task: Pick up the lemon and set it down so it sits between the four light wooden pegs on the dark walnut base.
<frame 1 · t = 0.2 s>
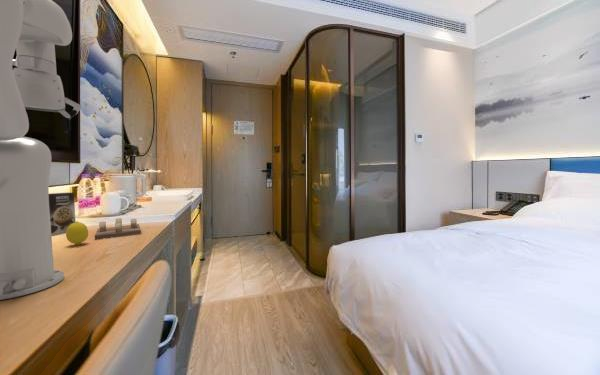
hand: (42, 130, 71), 36 cm above the table, tool pointing down, fingers open, 9 cm apart
peg cradle: (119, 233, 100), on the table
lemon: (78, 245, 84), on the table
coffee box: (58, 233, 102), on the table
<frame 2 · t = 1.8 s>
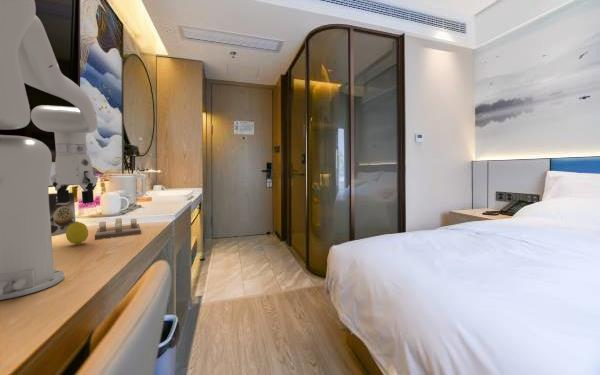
hand: (75, 202, 84), 14 cm above the table, tool pointing down, fingers open, 9 cm apart
nothing on the table moved.
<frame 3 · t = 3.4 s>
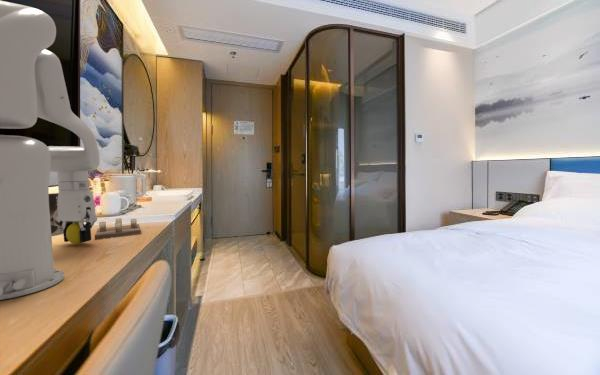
hand: (77, 240, 84), 2 cm above the table, tool pointing down, fingers closed on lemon, 5 cm apart
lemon: (78, 245, 84), on the table, touching gripper
everything else where it was.
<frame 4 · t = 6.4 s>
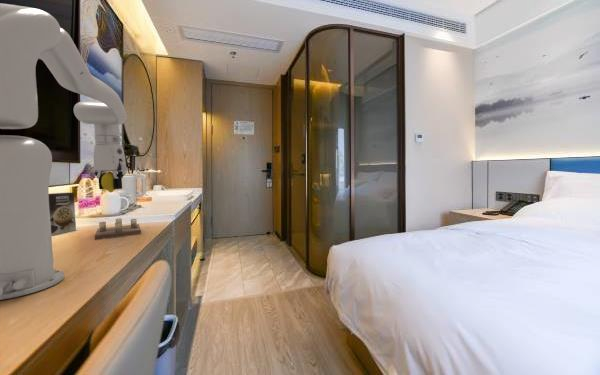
hand: (110, 188, 96), 18 cm above the table, tool pointing down, fingers closed on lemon, 5 cm apart
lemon: (111, 192, 97), point 16 cm above the table, touching gripper
everything else where it was.
when the fingers open (4 cm above the table, at t = 9.2 s): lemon stays where it is, resting on peg cradle.
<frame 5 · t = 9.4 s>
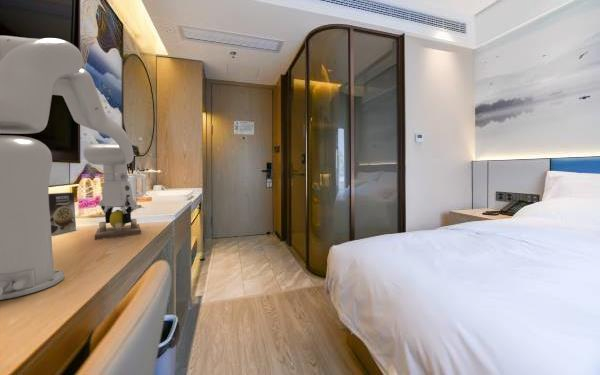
hand: (118, 222, 100), 4 cm above the table, tool pointing down, fingers open, 7 cm apart
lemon: (119, 229, 100), point 1 cm above the table, touching peg cradle
everything else where it was.
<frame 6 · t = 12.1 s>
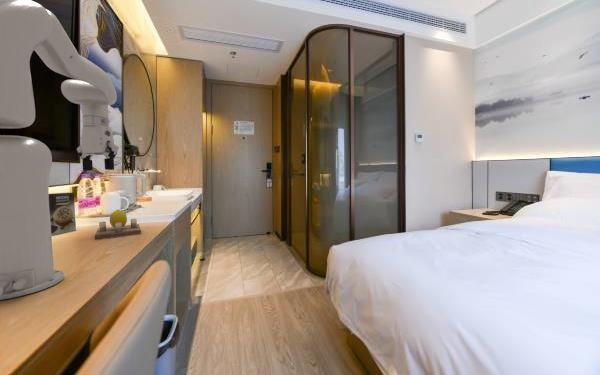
hand: (98, 170, 93), 25 cm above the table, tool pointing down, fingers open, 9 cm apart
nothing on the table moved.
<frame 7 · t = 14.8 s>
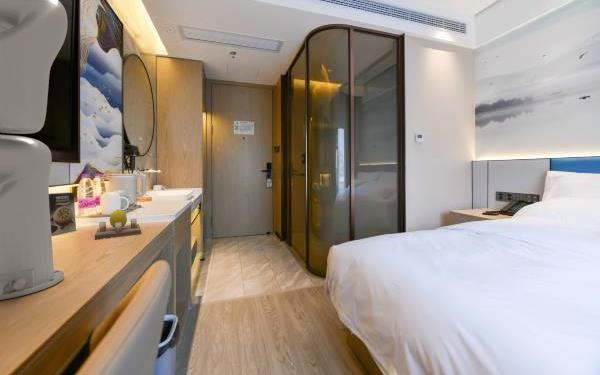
nothing on the table moved.
at the end: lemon 0.3 cm off-centre on the peg cradle, point 1.3 cm above the peg cradle's base; the gripper is holding nothing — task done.
